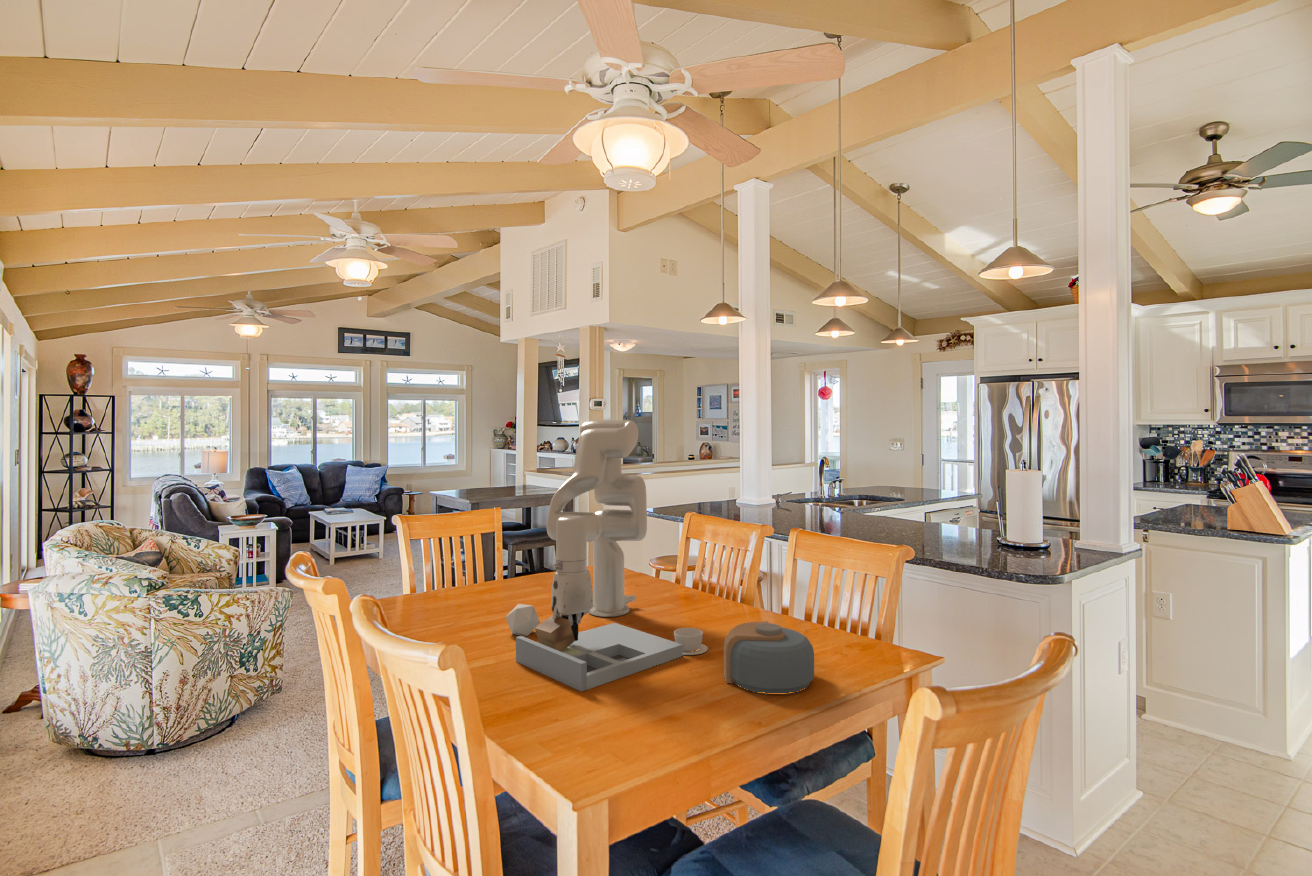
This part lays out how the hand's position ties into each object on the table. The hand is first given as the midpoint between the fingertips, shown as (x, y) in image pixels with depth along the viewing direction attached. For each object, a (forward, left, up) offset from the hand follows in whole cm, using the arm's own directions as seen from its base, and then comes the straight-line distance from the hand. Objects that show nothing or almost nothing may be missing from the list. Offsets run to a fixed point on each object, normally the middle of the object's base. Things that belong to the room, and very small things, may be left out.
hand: (571, 639), depth 165 cm
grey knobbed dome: (-23, +43, -5) cm, 49 cm away
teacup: (-25, +16, -5) cm, 30 cm away
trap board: (-5, +6, -4) cm, 9 cm away
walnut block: (+4, 0, 0) cm, 4 cm away
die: (-2, -25, -5) cm, 25 cm away
